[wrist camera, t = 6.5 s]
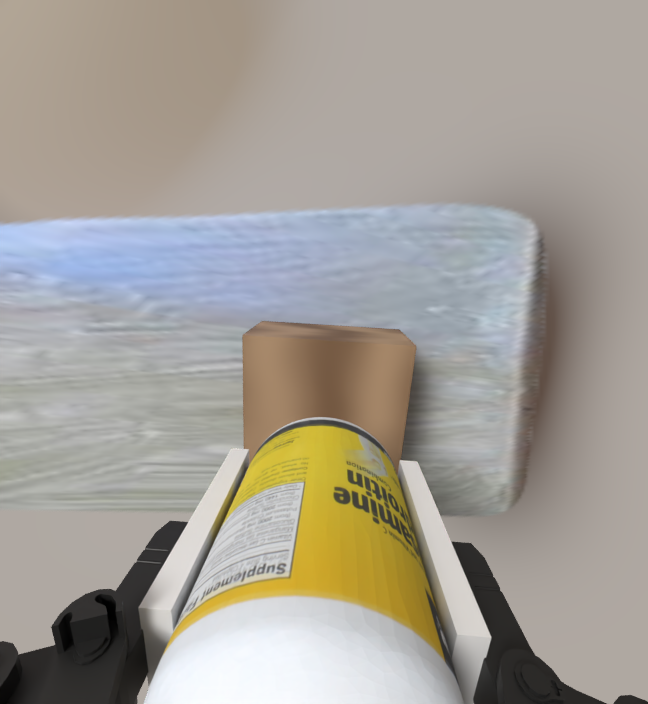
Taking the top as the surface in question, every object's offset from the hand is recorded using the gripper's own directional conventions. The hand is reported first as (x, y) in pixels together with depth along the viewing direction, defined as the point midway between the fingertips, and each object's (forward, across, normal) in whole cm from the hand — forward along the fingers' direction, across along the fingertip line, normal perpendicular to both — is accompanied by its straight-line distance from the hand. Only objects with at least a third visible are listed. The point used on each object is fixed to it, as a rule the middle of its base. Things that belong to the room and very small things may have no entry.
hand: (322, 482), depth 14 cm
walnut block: (+11, 0, 0) cm, 11 cm away
